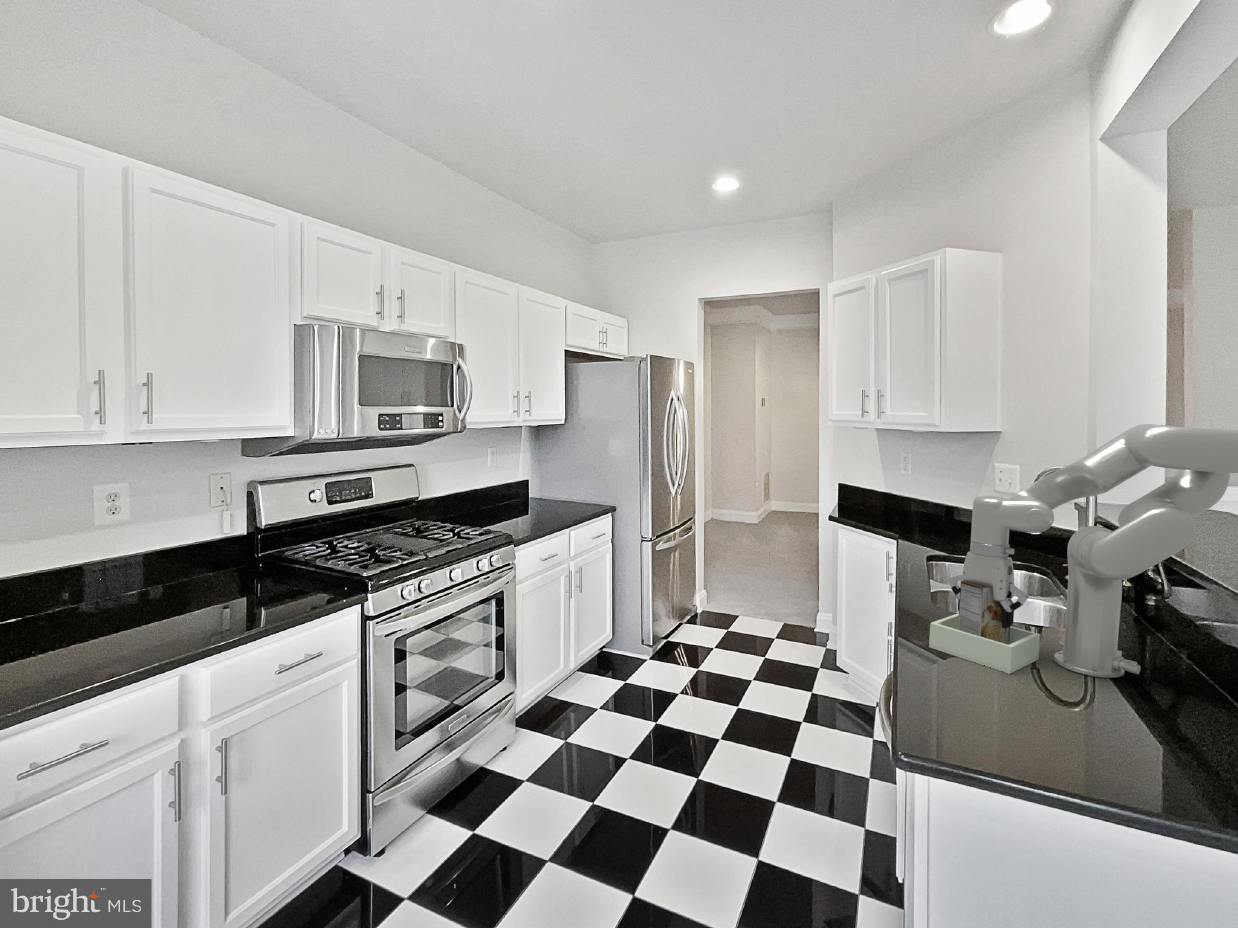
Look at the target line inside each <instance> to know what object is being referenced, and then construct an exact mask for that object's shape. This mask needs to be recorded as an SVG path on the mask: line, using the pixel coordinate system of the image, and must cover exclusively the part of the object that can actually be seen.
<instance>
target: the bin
mask: <svg viewBox="0 0 1238 928" xmlns="http://www.w3.org/2000/svg"><path fill="white" fill-rule="evenodd" d="M928 639H929V640H928V641H929V642H928V648H930V649H933V650H936V651H939V652H942V653H945V654H948V655H951V656H954V657H957V658H960V659H963V660H967V661H969V662H971V663H975V662H976V664H978V665H981V666H984V665H985V666H984V667H986V668H990V667H991V668H990V669H993V668H994V670H996V671H999V672H1002V671H1003V673H1006V674H1008V675H1010V673H1011V674H1012V673H1015V672H1016V671H1018V670H1020V669H1022V668H1024V667H1027V666H1028V665H1030V664H1032V663H1034V662H1036V661H1038V660H1039V656H1040V643H1041V642H1040V640H1041V634H1040V633H1037V632H1033V631H1029V630H1027V629H1022V628H1020V627H1019V628H1018V627H1016V626H1013V625H1011V627H1010V636H1009V645H1007V644H1004V643H1000V642H997V641H994V640H990V639H987V638H984V637H980V636H977V635H973V634H970V633H967V632H963V631H960V630H959V612H958V613H955V614H952V615H950V616H946V617H944V618H941V619H937V620H935V621H932V622H930V624H929V638H928Z"/></svg>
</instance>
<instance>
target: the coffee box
mask: <svg viewBox="0 0 1238 928" xmlns="http://www.w3.org/2000/svg"><path fill="white" fill-rule="evenodd" d="M1009 592H1010V591H1008V595H1009ZM1003 611H1005V608H1004V607H1003V606H1002V604H1001V603H1000V602H999V601H995V600H994V596H993V587H991V586H986V585H982V584H978V583H973V582H969V581H961V580H960V611H958V613H959V630H960V631H963V632H967V633H970V634H973V635H977V636H980V637H984V638H987V639H990V640H994V641H997V642H1000V643H1004V644H1007V645H1009V636H1010V627H1008V628H1006V629H1004V628H1002V614H1003Z"/></svg>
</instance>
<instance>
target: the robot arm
mask: <svg viewBox="0 0 1238 928" xmlns="http://www.w3.org/2000/svg"><path fill="white" fill-rule="evenodd" d="M1152 466H1153V467H1157V468H1164V469H1172V470H1173V469H1174V470H1178V471H1177V472H1176V474H1175V475H1173V476H1172V477H1171V478H1170V479H1169V480H1167V481H1166V482H1164V483H1163V484H1161V485H1159V486H1158V487H1156V488H1154V489H1153V490H1151V491H1149V492H1148V493H1146V494H1145V495H1143V496H1140V497H1139V498H1138V499H1136V500H1134V501H1132V502H1130V503H1129V504H1127V505H1126V506H1125V507H1124V508H1122V510H1121V511H1120V512H1119V514H1118V518H1117V522H1118V525H1119V527H1117V529H1114V530H1111V529H1108V527H1107V528H1106V527H1103V526H1099V525H1095V526H1094V525H1090V526H1084V527H1082V528H1080V529H1077V531H1075V532H1074V533H1073V534H1072V535H1071V537H1070V539H1069V540H1068V543H1067V553H1066V554H1067V565H1068V566H1067V568H1068V569H1067V570H1068V571H1067V573H1068V579H1067V581H1068V583H1067V592H1066V593H1067V594H1066V595H1067V597H1066V607H1065V608H1066V609H1065V621H1064V622H1065V623H1064V633H1063V635H1064V636H1063V647H1062V648H1063V650H1059V651H1057V652H1055V653H1054V655H1053V660H1054V662H1055V663H1056V664H1058V665H1059V666H1061V667H1063V668H1064V669H1067V670H1069V671H1072V672H1074V673H1077V674H1082V675H1085V676H1089V677H1090V676H1091V677H1096V678H1106V679H1107V678H1109V679H1112V678H1113V679H1114V678H1120V677H1123V676H1124V675H1125V673H1126V672H1125V671H1127V672H1128V673H1132V674H1135V675H1139V674H1140V672H1141V665H1139V664H1138V662H1137V661H1133V660H1130V659H1129V660H1128V659H1125V657H1123V656H1122V654H1123V651H1122V650H1118V642H1119V630H1120V629H1119V628H1120V619H1121V618H1120V617H1121V606H1122V597H1123V582H1122V581H1124V580H1128V579H1131V578H1134V577H1136V576H1138V575H1139V574H1142V573H1144V572H1145V571H1146V570H1149V569H1151V568H1152V567H1154V566H1156V565H1158V564H1160V563H1162V562H1164V560H1167V559H1168V558H1171V557H1172V556H1173V555H1176V554H1177V553H1178V552H1181V551H1182V550H1184V549H1185V548H1186V547H1187V546H1188V545H1189V544H1190V543H1191V542H1192V540H1193V539H1194V537H1195V535H1196V532H1197V525H1196V521H1195V518H1197V517H1198V516H1200V515H1202V514H1203V513H1204V512H1206V511H1209V510H1210V509H1211V508H1212V507H1214V506H1215V505H1217V503H1219V501H1220V500H1221V499H1222V498H1223V496H1224V495H1225V494H1226V491H1227V489H1228V487H1229V483H1230V479H1231V478H1230V477H1231V474H1238V429H1227V428H1225V429H1223V428H1221V429H1220V428H1200V427H1199V428H1196V427H1184V426H1174V425H1167V424H1165V425H1164V424H1150V423H1146V424H1145V423H1144V424H1143V423H1142V424H1138V425H1136V426H1132V427H1131V428H1129V429H1127V430H1124V431H1123V432H1122V433H1120V434H1119V435H1117V436H1115V437H1114V438H1112V439H1111V440H1109V441H1108V442H1106V443H1104V444H1102V445H1100V446H1099V447H1097V448H1096V449H1094V450H1093V451H1091V452H1090V453H1088V454H1086V455H1085V456H1083V457H1081V458H1080V459H1078V460H1076V461H1075V462H1072V463H1071V464H1068V465H1066V466H1063V467H1062V468H1061V469H1057V470H1056V471H1054V472H1051V473H1049V474H1048V475H1045V476H1044V477H1041V478H1040V479H1038V480H1036V481H1034V482H1033V483H1031V484H1029V485H1028V486H1026V487H1024V488H1023V489H1021V490H1020V491H1018V492H1017V493H1015V494H1013V495H1012V496H1011V497H1010V498H1009V499H1008V498H1006V497H1003V496H996V495H980V496H976V497H975V498H974V499H973V502H972V510H971V511H972V515H971V529H970V530H971V532H970V547H969V551H968V552H967V553H966V556H965V559H964V563H963V566H962V567H963V568H962V571H961V572H962V573H961V574H960V575H959V574H958V575H955V576H952V577H948V579H947V580H948V583H949V585H950V587H951V591H952V592H953V593H954V595H955V598H956V599H957V600H958V603H957V611H958V612H959V611H960V588H961V586H960V585H959V584H958V582H961V581H969V582H973V583H978V584H982V585H986V586H991V587H993V596H994V600H995V601H999V602H1000V603H1001V604H1002V606H1003V607H1004V608H1005V611H1003V614H1002V628H1004V629H1006V628H1008V627H1011V626H1013V624H1014V617H1015V611H1016V610H1018V609H1020V608H1021V607H1022V606H1024V604H1025V603H1026V602H1027V600H1028V599H1029V595H1028V594H1027V593H1026V592H1024V591H1023V590H1022V589H1020V588H1019V587H1017V586H1015V571H1014V566H1013V559H1012V557H1009V555H1015V548H1011V547H1010V544H1009V541H1010V540H1009V539H1010V530H1013V531H1019V532H1023V533H1030V534H1038V533H1042V532H1044V531H1047V530H1048V529H1050V528H1051V527H1052V526H1053V523H1054V520H1055V514H1054V511H1053V510H1055V509H1056V508H1059V507H1060V506H1062V505H1065V504H1067V503H1069V502H1072V501H1075V500H1078V499H1081V498H1088V497H1089V498H1090V497H1095V496H1099V495H1103V494H1106V493H1107V492H1110V491H1112V490H1113V489H1114V488H1116V487H1117V486H1120V485H1121V484H1123V483H1124V482H1126V481H1127V480H1129V479H1131V478H1132V477H1135V476H1137V475H1138V474H1139V473H1141V472H1142V471H1145V470H1146V469H1148V468H1150V467H1152ZM1008 591H1010V592H1009V595H1008ZM1014 596H1016V597H1017V599H1016V601H1015V602H1014V601H1013V600H1012V599H1013V598H1014Z"/></svg>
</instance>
